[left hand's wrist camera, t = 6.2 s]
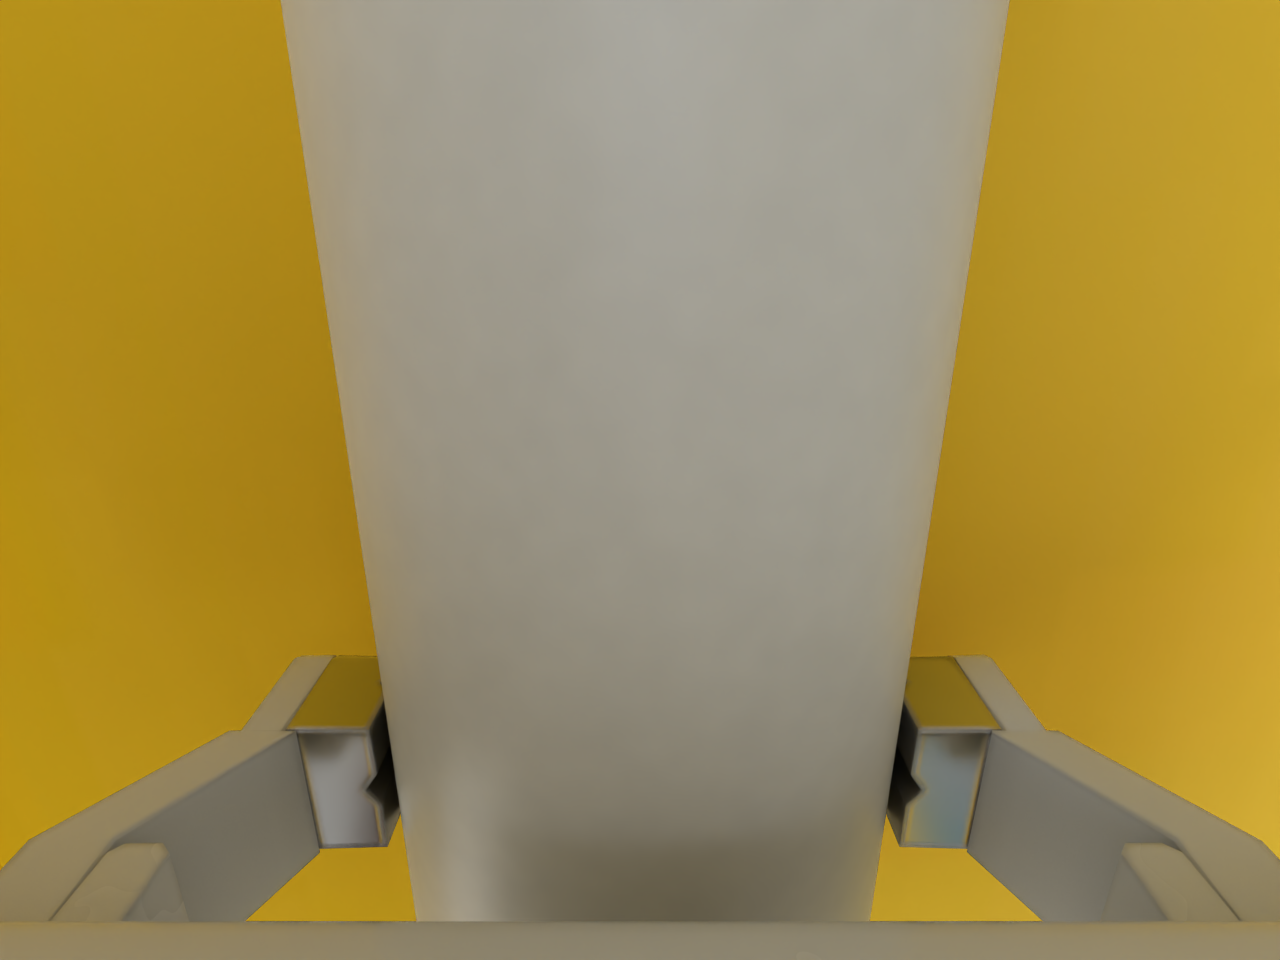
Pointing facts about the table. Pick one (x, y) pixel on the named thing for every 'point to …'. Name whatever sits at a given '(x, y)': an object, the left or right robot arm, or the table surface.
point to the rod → (644, 424)
